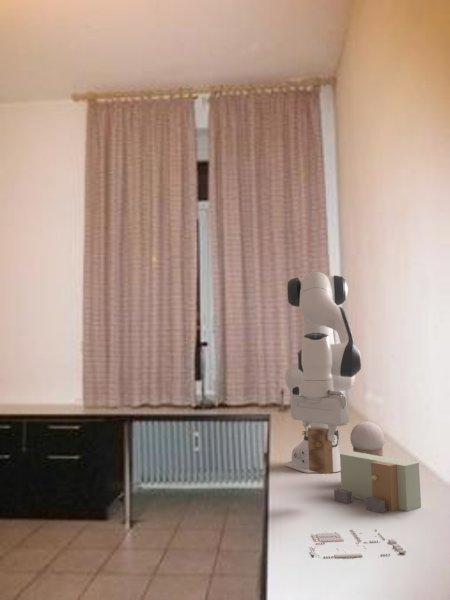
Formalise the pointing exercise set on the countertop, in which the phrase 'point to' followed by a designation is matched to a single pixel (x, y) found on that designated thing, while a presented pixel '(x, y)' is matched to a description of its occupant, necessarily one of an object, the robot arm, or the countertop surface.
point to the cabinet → (379, 482)
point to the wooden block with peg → (320, 450)
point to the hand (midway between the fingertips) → (319, 438)
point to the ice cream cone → (367, 439)
